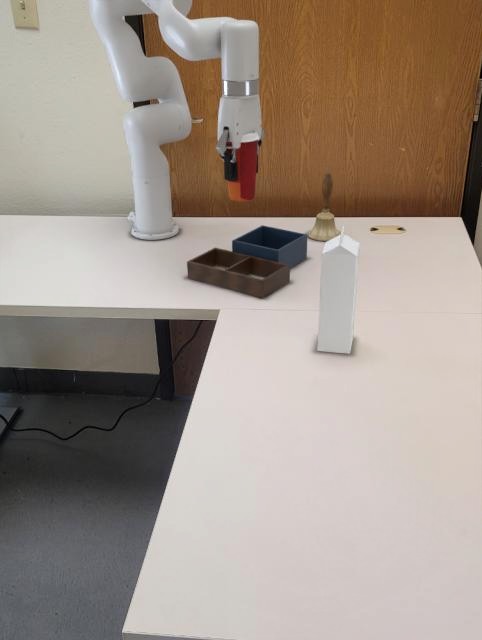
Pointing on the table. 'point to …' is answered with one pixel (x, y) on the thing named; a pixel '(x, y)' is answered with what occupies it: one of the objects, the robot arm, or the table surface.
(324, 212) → the hand bell
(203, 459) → the table surface
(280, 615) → the table surface
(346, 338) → the milk
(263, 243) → the blue square tray
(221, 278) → the wooden divided tray
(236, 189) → the paper cup
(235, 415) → the table surface
